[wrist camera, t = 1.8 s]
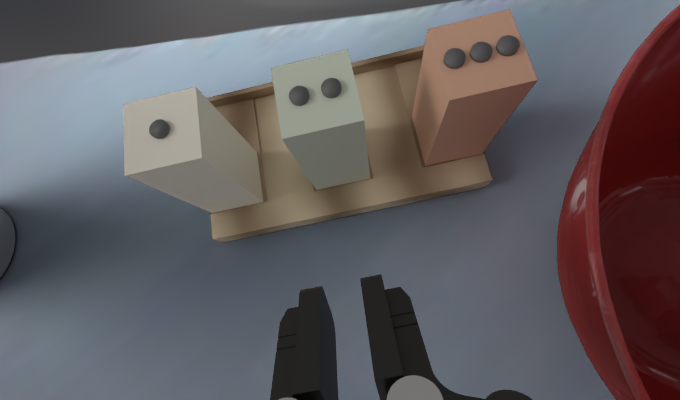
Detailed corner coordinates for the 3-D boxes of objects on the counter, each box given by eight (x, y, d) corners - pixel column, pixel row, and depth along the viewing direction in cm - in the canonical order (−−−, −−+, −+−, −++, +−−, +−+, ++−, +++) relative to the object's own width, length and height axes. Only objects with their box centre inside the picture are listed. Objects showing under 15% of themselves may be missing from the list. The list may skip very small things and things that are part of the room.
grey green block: (370, 178, 27) (364, 117, 18) (316, 190, 28) (280, 137, 18) (359, 128, 29) (347, 46, 19) (307, 140, 29) (269, 65, 19)
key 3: (481, 153, 27) (539, 77, 17) (425, 165, 27) (450, 97, 17) (465, 104, 28) (511, 5, 18) (411, 116, 28) (428, 26, 18)
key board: (445, 62, 32) (452, 38, 29) (485, 187, 28) (497, 175, 25) (211, 118, 33) (194, 101, 30) (223, 242, 30) (205, 237, 27)
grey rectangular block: (263, 201, 28) (199, 156, 18) (211, 213, 28) (121, 174, 18) (256, 152, 29) (193, 84, 19) (207, 163, 30) (120, 102, 20)
